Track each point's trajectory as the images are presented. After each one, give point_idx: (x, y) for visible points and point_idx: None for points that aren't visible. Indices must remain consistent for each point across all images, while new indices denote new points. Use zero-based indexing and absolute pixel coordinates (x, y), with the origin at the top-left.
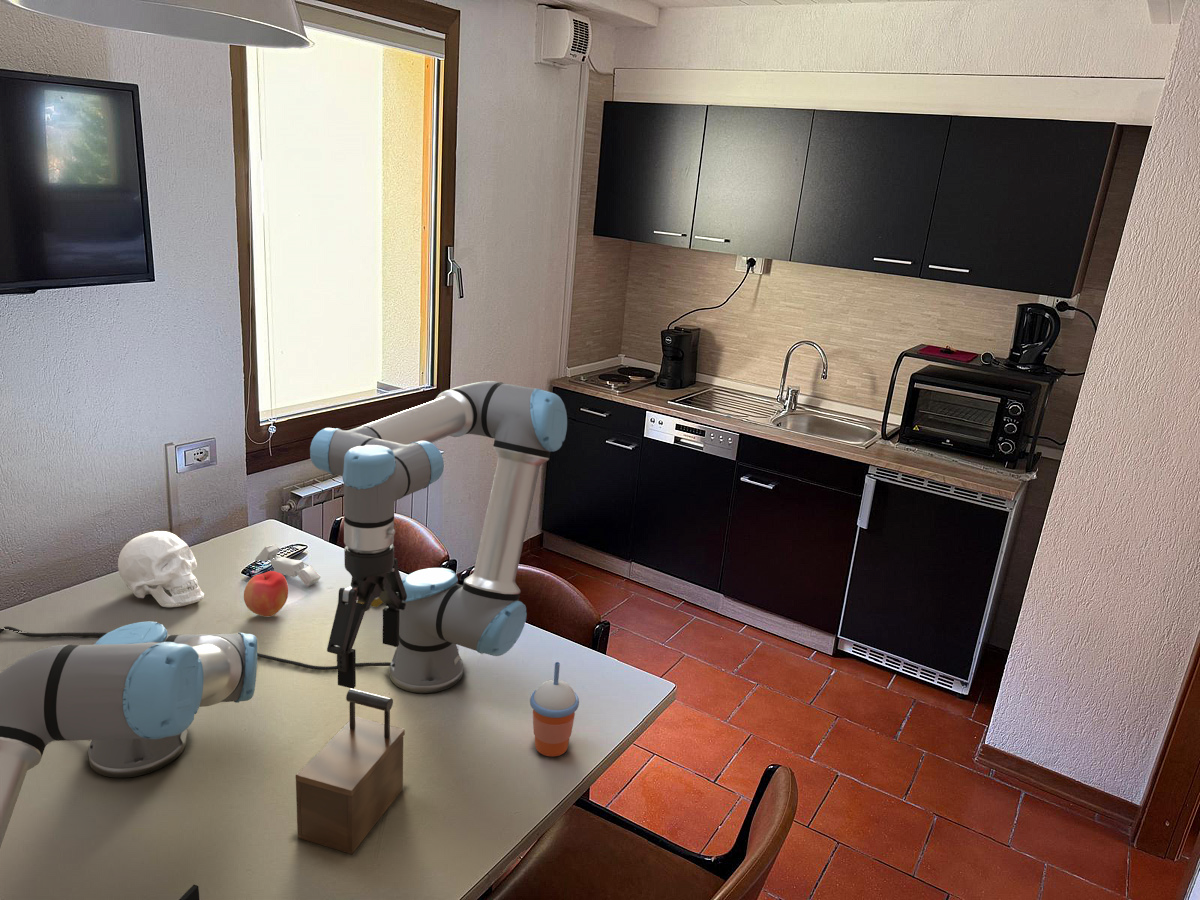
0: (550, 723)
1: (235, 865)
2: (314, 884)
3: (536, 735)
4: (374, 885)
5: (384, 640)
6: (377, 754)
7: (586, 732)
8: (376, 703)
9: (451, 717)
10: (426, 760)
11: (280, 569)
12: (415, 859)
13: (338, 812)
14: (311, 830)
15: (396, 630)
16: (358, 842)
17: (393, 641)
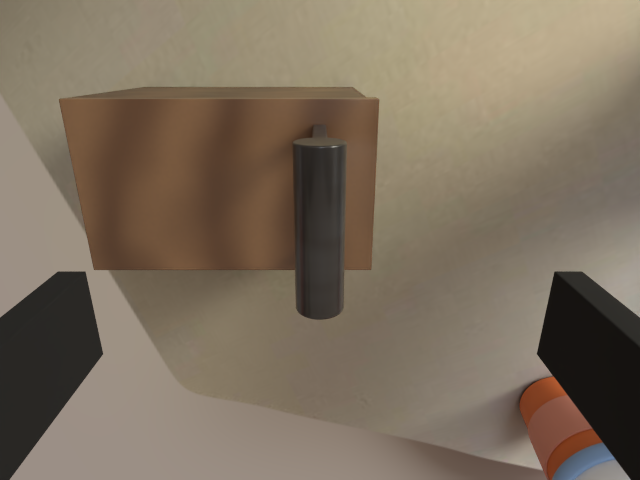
0: (548, 469)
1: (20, 11)
2: (71, 186)
3: (542, 410)
4: (123, 276)
5: (564, 296)
6: (243, 257)
7: None
8: (297, 273)
9: (614, 193)
10: (450, 211)
11: None
12: (201, 307)
13: None
14: None
15: (600, 432)
16: None
17: (557, 353)
